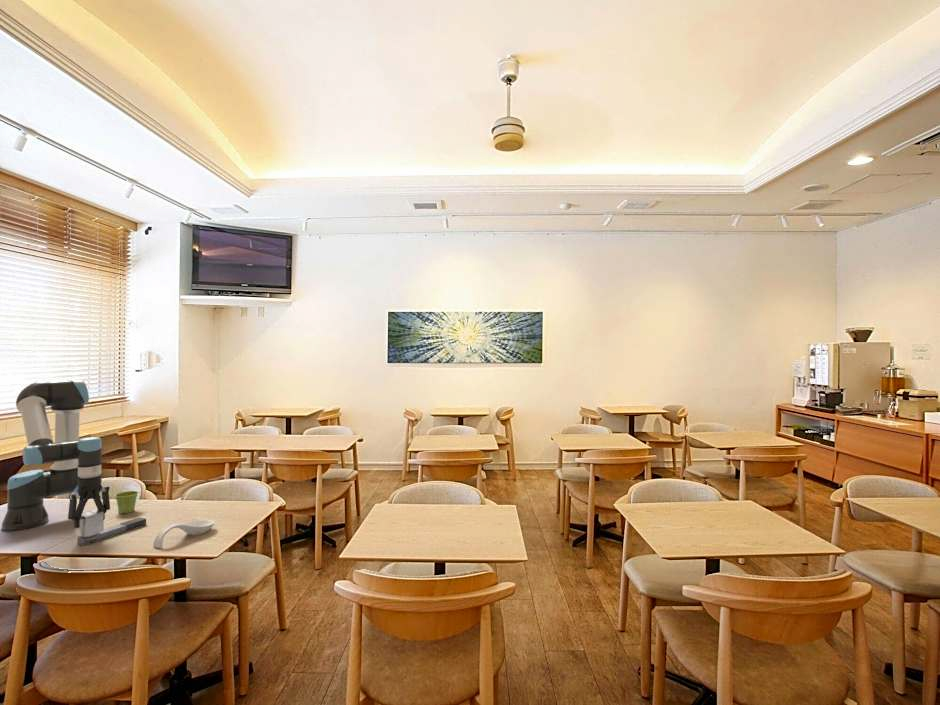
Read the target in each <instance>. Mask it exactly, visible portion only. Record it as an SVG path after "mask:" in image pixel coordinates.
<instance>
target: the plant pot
mask: <svg viewBox="0 0 940 705" xmlns="http://www.w3.org/2000/svg"><path fill="white" fill-rule="evenodd" d="M138 494H139V491H138V490H129V491H123V492H122V491H121V492H119V493H115V494H114V497H115V500H116V505H117V509H118V513H119V514H126V513H127V514H129V513H132V512H134V511H135V507H136V503H137V497H138Z"/></svg>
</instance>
